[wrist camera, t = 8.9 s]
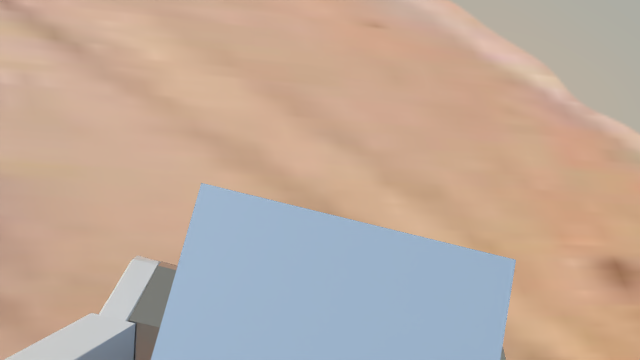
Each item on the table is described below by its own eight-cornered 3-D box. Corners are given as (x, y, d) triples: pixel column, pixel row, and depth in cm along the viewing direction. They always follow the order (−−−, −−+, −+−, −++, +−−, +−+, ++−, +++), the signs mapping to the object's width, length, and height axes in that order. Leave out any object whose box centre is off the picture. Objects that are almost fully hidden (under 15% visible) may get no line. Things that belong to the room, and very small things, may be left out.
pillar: (355, 428, 15) (459, 619, 7) (201, 393, 15) (99, 539, 6) (387, 273, 16) (515, 259, 8) (242, 238, 16) (201, 182, 7)
